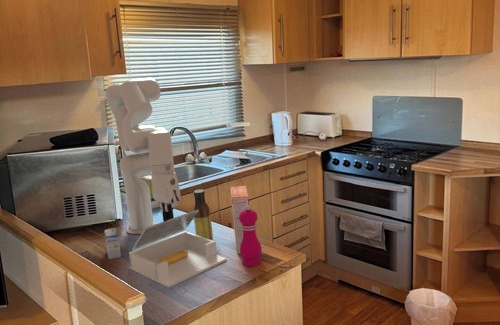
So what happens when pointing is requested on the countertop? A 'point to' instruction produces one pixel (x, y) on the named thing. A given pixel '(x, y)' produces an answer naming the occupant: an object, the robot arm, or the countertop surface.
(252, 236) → the pepper mill
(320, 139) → the countertop surface
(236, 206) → the cracker box
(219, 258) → the white shallow open box
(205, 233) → the sauce bottle
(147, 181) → the tea box
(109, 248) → the medicine box
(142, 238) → the cover
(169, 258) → the golden yellow ridged bar
